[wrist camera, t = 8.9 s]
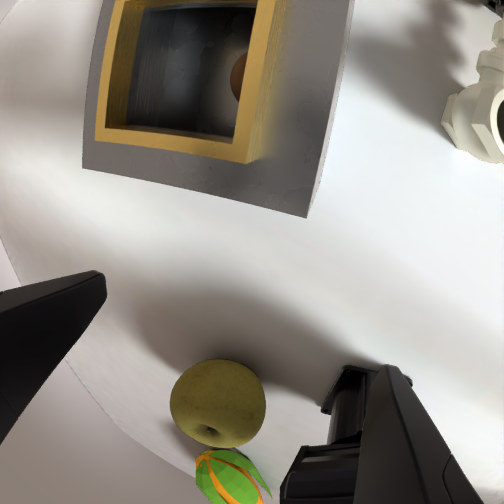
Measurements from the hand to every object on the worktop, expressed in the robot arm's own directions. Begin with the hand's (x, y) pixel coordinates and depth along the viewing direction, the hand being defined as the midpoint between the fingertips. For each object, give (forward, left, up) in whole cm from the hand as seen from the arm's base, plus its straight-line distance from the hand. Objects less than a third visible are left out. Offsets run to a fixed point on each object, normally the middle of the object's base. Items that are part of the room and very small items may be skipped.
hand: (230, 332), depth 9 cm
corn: (-38, -3, -12) cm, 40 cm away
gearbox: (+9, +5, -12) cm, 16 cm away
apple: (-16, +2, -12) cm, 20 cm away
